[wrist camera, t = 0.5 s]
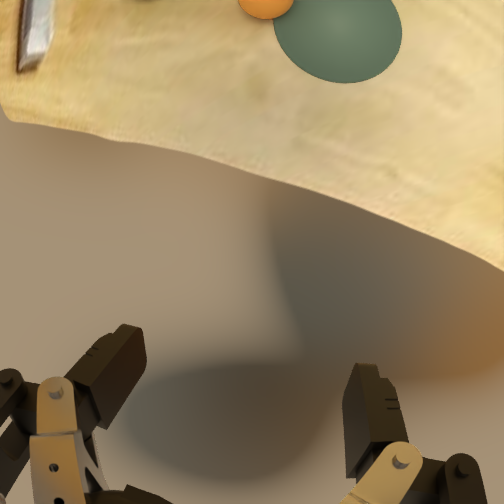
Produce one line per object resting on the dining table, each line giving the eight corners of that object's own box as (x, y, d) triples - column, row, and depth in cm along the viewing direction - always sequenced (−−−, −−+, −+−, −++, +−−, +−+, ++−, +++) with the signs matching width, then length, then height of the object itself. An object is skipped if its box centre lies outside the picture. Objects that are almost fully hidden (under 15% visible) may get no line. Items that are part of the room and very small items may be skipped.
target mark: (247, 28, 26) (246, 28, 26) (328, -51, 18) (328, -52, 18) (345, 107, 30) (345, 107, 30) (424, 32, 23) (425, 32, 22)
